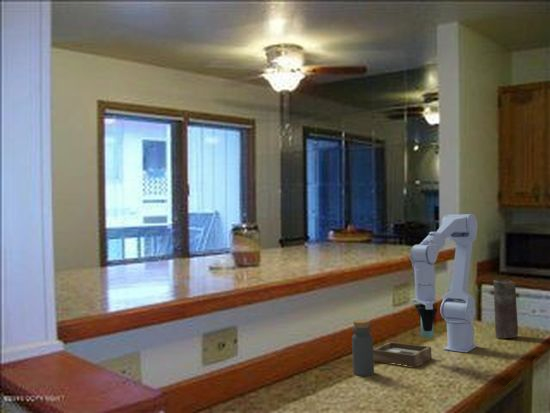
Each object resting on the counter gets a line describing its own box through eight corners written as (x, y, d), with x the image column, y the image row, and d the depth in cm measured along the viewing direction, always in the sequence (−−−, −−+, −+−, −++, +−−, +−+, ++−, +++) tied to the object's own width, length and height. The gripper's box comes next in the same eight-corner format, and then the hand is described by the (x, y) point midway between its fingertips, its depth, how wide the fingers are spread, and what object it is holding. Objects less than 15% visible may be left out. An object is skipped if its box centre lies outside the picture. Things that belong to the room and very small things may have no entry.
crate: (390, 352, 184) (390, 341, 184) (431, 358, 175) (431, 346, 175) (372, 361, 174) (371, 349, 174) (414, 367, 166) (413, 355, 166)
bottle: (361, 369, 167) (359, 318, 167) (378, 372, 163) (375, 320, 163) (349, 373, 163) (346, 321, 163) (365, 377, 158) (363, 323, 159)
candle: (498, 334, 203) (496, 278, 203) (520, 336, 198) (518, 278, 198) (493, 338, 196) (490, 280, 197) (515, 340, 192) (512, 281, 192)
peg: (420, 335, 173) (419, 312, 173) (432, 335, 172) (431, 312, 172) (421, 337, 169) (421, 314, 169) (434, 337, 168) (433, 314, 169)
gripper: (408, 281, 178) (410, 324, 178) (414, 288, 164) (416, 334, 164) (431, 280, 178) (433, 324, 177) (439, 287, 163) (441, 334, 163)
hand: (426, 329), depth 171 cm, fingers closed on peg, 4 cm apart
